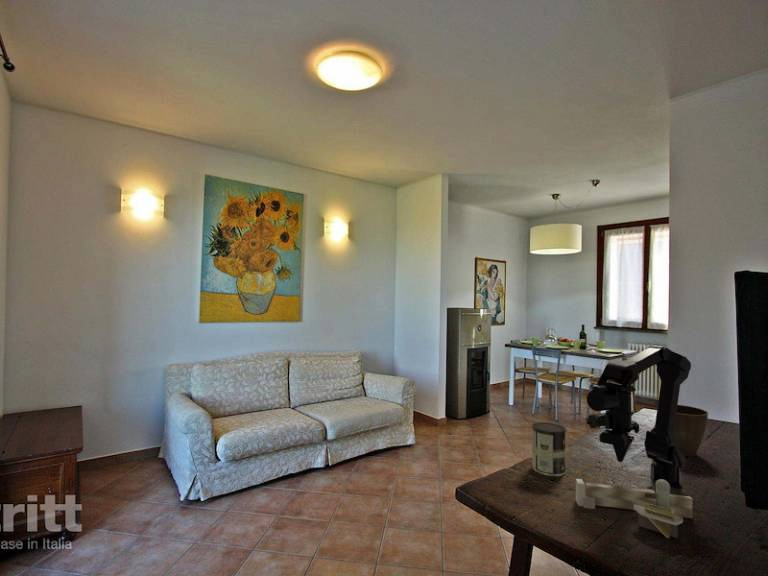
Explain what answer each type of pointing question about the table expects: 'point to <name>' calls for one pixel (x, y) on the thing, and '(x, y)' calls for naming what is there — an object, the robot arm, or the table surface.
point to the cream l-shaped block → (583, 496)
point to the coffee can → (549, 449)
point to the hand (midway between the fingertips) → (620, 461)
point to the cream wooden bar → (620, 496)
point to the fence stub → (681, 505)
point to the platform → (658, 520)
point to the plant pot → (690, 428)
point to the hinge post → (662, 495)
